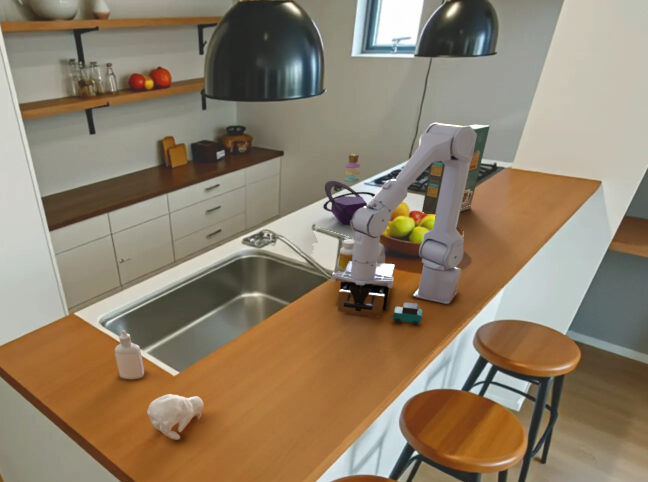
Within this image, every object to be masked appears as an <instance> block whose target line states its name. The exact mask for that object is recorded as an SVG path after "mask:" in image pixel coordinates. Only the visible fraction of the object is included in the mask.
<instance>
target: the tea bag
mask: <svg viewBox="0 0 648 482" xmlns="http://www.w3.org/2000/svg"><path fill="white" fill-rule="evenodd" d="M385 262H386V252H385V245H383V244H380V243H379V249H378V257H377V263H381V264H386V263H385Z"/></svg>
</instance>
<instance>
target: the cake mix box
mask: <svg viewBox="0 0 648 482" xmlns="http://www.w3.org/2000/svg"><path fill="white" fill-rule="evenodd" d="M469 126H470V127H471V128H472V129H473V130H474V131H475V132H476V134H477V138H476V142H475V147H474V151H473V156H472V161H471V162H470V167H469V172H468V176H467V181H466V186H465V190H464V195H463V199H462V204H461V208H462V209H460V212H463V211H466V210H470V209H471V206H472V203H473V199H474V194H475V189H476V185H477V181H478V177H479V174H480V169H481V164H482V160H483V158H484V157H483V156H484V152H485V148H486V145H487V140H488V135H489V132H490V127H491V126H490V125H485V124H471V125H469ZM444 168H445V165H444V163H443V162H442V161H438V162H432V163H431V164H430V165H429V170H428V176H427V181H426V187H425V192H424V197H423V204H422V209H421V213H422V212H424V213H425V214H435V215H436V211H437V205H438V200H439V195H440V189H441V184H442V179H443V173H444ZM469 205H471V206H469ZM466 206H468V207H466ZM464 207H465V208H464Z"/></svg>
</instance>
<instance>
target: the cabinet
mask: <svg viewBox="0 0 648 482" xmlns="http://www.w3.org/2000/svg"><path fill="white" fill-rule="evenodd" d="M351 267H352V261H349V263H348V265H347V267H346V270H345V272H351ZM395 267H396V264H392V263H384V264H381V263H377V264H376V272H375V274H379V275H383V276H388V277H394V272H395ZM345 283H346V282H341V281H340V287H339V290H340V289H341V290H343V288H344V285H345ZM349 283H350V282H349ZM379 286H380V285H379ZM391 291H392V288H389V287H388V286H386V288H385V297H384V303H383V310H382V311H386V310H387V306H388V304H389V303H388V302H389V299H390V295H391V294H390V293H391Z"/></svg>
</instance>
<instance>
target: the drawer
mask: <svg viewBox="0 0 648 482" xmlns="http://www.w3.org/2000/svg"><path fill="white" fill-rule="evenodd" d="M349 287H350V283H349V282H346V283H345V285H344V288H343V290H341V289H340V288H339V291H338V301H337V312H340V313H348V314H356V315H357V314H358V315H363V316H373V317H382V315H383V311H384V310H383V303H384V297H385V288H386V286H379V285H373V287H372V290H371V291H370V293H369V294H368V296H367V297H366V299H365V301H364V303H363V304H360V303H354V299H353V296H352V294H351V291H350V289H349ZM361 287H362V286H361ZM355 308H358V309H361V311H355Z"/></svg>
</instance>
